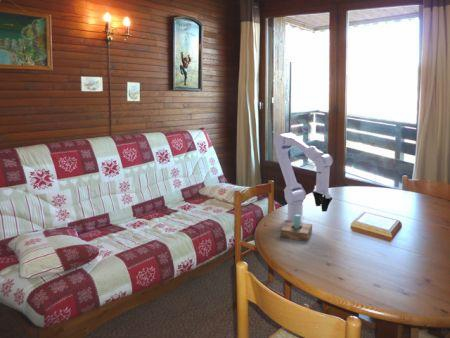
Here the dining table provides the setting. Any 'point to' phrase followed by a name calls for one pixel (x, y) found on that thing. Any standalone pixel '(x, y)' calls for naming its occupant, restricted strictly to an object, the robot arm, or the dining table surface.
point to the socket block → (296, 231)
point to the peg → (297, 221)
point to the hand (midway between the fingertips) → (321, 208)
